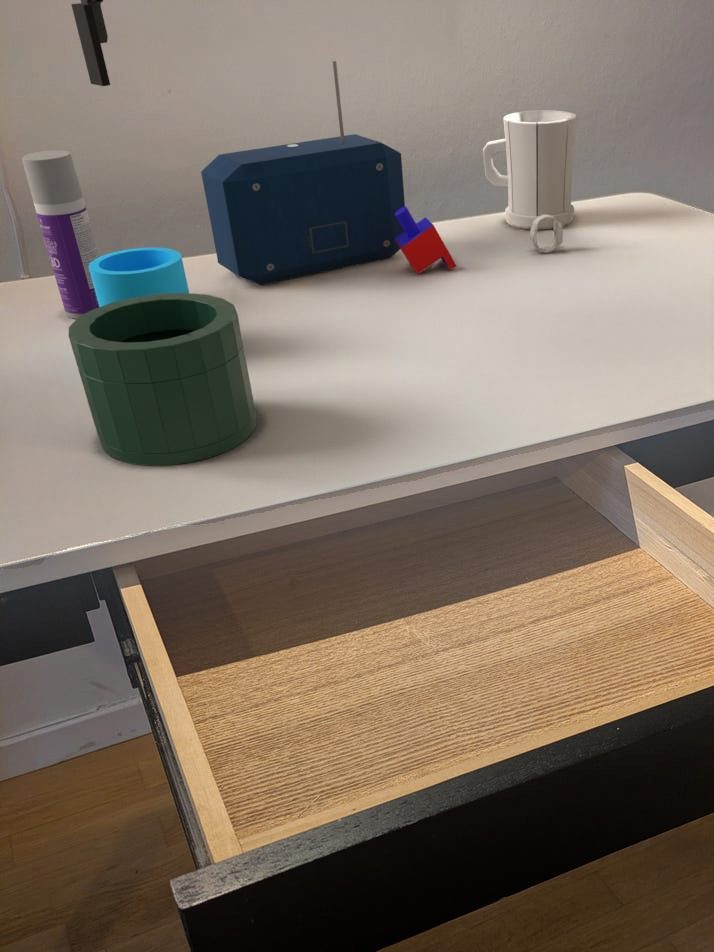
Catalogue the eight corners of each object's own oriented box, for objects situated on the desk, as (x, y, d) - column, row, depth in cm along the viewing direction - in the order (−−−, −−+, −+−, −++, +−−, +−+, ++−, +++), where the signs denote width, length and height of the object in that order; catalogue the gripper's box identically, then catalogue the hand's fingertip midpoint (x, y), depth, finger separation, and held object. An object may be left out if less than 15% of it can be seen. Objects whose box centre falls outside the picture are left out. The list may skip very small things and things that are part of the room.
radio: (377, 239, 121) (360, 52, 109) (412, 256, 115) (398, 59, 103) (216, 272, 112) (177, 72, 100) (244, 291, 106) (207, 81, 94)
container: (56, 317, 101) (9, 159, 92) (83, 302, 105) (40, 149, 96) (95, 320, 100) (51, 161, 91) (121, 305, 104) (81, 150, 95)
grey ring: (532, 255, 113) (533, 218, 111) (527, 250, 115) (528, 214, 112) (562, 252, 114) (563, 216, 111) (557, 247, 116) (558, 211, 113)
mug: (215, 348, 93) (197, 259, 88) (135, 372, 89) (111, 280, 84) (158, 317, 100) (139, 234, 95) (82, 338, 96) (57, 253, 91)
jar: (80, 468, 74) (43, 352, 68) (126, 401, 83) (98, 295, 78) (240, 463, 73) (217, 346, 68) (268, 397, 83) (249, 290, 78)
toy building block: (418, 278, 113) (381, 216, 108) (448, 256, 112) (412, 194, 107) (425, 287, 110) (388, 224, 105) (456, 265, 110) (420, 201, 105)
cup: (516, 236, 120) (515, 127, 112) (480, 220, 126) (477, 116, 119) (587, 223, 123) (591, 116, 116) (549, 208, 130) (550, 106, 123)
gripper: (-217, -215, 69) (-97, 120, 82) (113, -210, 82) (172, 79, 95) (-240, -205, 74) (-123, 111, 86) (76, -202, 86) (137, 73, 99)
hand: (31, 95), depth 91 cm, fingers open, 13 cm apart
